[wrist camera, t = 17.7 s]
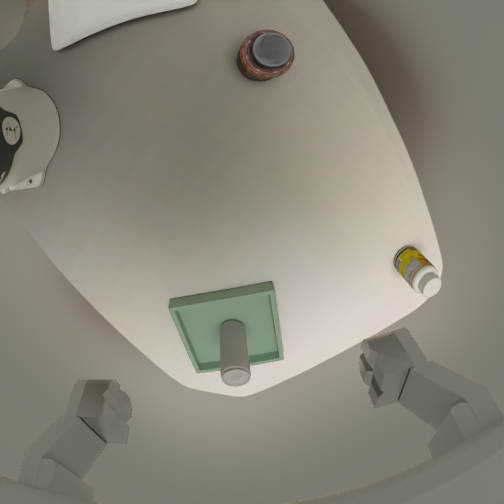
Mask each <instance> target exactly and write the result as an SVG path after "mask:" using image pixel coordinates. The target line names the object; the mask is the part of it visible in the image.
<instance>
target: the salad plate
mask: <svg viewBox="0 0 504 504" xmlns="http://www.w3.org/2000/svg"><path fill="white" fill-rule="evenodd" d="M196 2H197V0H48V6H49V24H50V37H51V45H52V49H53V50H54V51H57V50H60V49H63V48H65V47H67V46H69V45H71V44H73V43H75V42H77V41H79V40H81V39H83V38H85V37H87V36H90V35H92V34H94V33H96V32H99V31H101V30H104V29H106V28H109V27H111V26H114V25H117V24H120V23H123V22H126V21H129V20H132V19H136V18H139V17H143V16H147V15H151V14H156V13H160V12H165V11H170V10H175V9H179V8H184V7H187V6H191V5H193V4H195V3H196Z"/></svg>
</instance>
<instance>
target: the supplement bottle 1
mask: <svg viewBox="0 0 504 504" xmlns="http://www.w3.org/2000/svg"><path fill="white" fill-rule="evenodd" d="M294 56H295V55H294V48H293V45H292V43H291V42H290V40H289V39H288V38H287V37H286V36H284V35H283V34H281V33H279V32H277V31H273V30H261V31H257V32H255V33H253V34H251V35H250V36H248V37H247V38H246V40H245V41H244V43H243V44H242V47H241V49H240V51H239V54H238V57H237V64H238V67H239V70H240V71H241V73H242V74H243V75H244V76H245V77H247V78H248V79H251V80H254V81H266V80H269V79H272V78H275V77H277V76H279V75H282V74H283V73H285V72H286V71H287V70H288V69H289V68H290V67H291V65H292V63H293V61H294Z"/></svg>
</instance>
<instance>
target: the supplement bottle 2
mask: <svg viewBox="0 0 504 504" xmlns="http://www.w3.org/2000/svg"><path fill="white" fill-rule="evenodd" d="M394 265H395V268H396V269H397V270H398V272H399V273H400V274H401V275H402V276H403V278H404V279H405V280H406V281H407V282H408V284H409V285H410V286H411V287H412V289H413V290H414V291H415V292H417V293H422V294H423V295H424V296H425V297H431V296H433V295H435V294H436V293H437V292H438V291H439V289H440V287H441V280H440V278H439V277H438V271H437V269H436V268H435V267H434V266H433V265H432V264H431V263H430V262H429V261H428V260H427V259H426V258H425V257H424V256H423V255H422V254H421V253H420V252H419V251H418V250H417V249H416V248H414V247H412V246H407V247H404V248H402V249H401V250H400V251H399V252H398V253H397V255H396V257H395V260H394Z"/></svg>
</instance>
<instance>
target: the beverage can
mask: <svg viewBox="0 0 504 504" xmlns="http://www.w3.org/2000/svg"><path fill="white" fill-rule="evenodd" d="M219 331H220V370H221V378H222V381H223V382H224V383H225V384H226V385H229V386H241V385H244V384H246V383H247V382H248V381H249V380H250V375H251V373H250V364H249V356H248V348H247V340H246V331H245V327H244V325H243V324H242V323H240V322H238V321H235V320H230V321H227V322H225V323H223V324H222V326H221V327H220V330H219Z"/></svg>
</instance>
